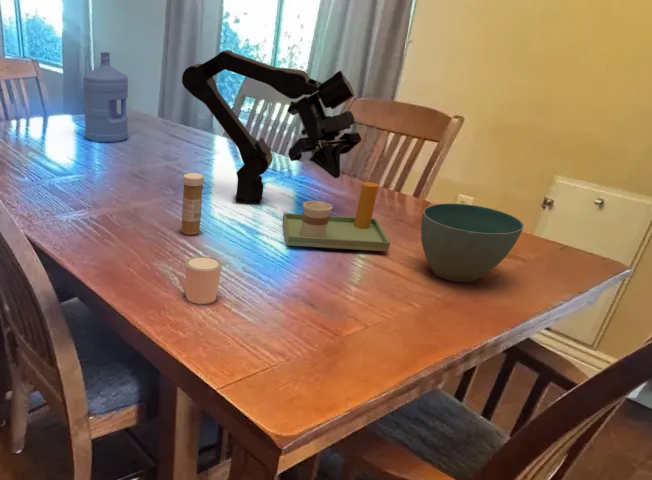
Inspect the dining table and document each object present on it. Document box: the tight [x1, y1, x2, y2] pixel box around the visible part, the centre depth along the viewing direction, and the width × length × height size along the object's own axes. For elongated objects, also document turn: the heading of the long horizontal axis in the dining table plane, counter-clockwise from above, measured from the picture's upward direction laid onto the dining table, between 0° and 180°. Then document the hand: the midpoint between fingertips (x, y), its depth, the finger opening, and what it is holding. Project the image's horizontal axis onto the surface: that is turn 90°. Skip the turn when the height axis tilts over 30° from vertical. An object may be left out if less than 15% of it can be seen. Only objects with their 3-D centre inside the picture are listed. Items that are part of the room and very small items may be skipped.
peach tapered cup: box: [184, 255, 223, 305], centre depth 114 cm, size 7×7×7 cm
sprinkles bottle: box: [180, 172, 205, 236], centre depth 141 cm, size 5×5×14 cm
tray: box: [281, 181, 391, 252], centre depth 139 cm, size 22×16×11 cm
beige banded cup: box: [300, 200, 333, 238], centre depth 138 cm, size 6×6×7 cm
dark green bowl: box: [420, 202, 525, 283], centre depth 124 cm, size 18×18×12 cm
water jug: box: [82, 51, 129, 143], centre depth 216 cm, size 16×16×28 cm
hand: (337, 177), depth 147 cm, fingers closed
